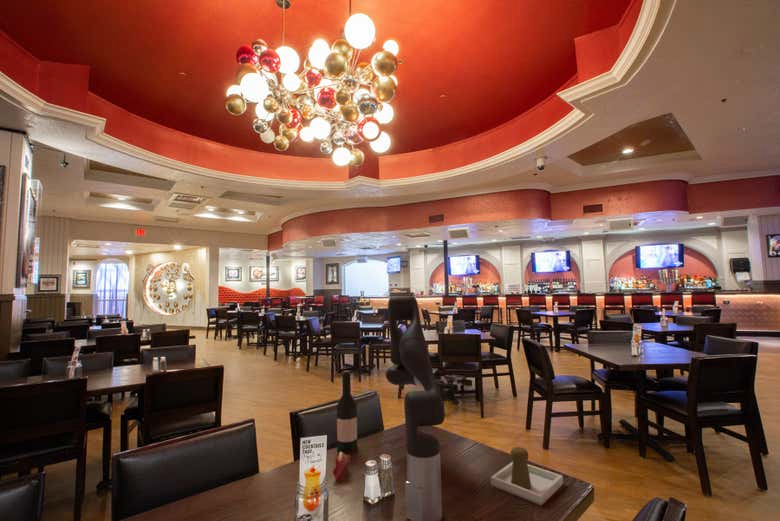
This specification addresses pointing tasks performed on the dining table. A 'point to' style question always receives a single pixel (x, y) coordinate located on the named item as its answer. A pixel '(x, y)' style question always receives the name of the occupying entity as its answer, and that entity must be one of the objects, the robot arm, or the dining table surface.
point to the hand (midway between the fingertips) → (464, 385)
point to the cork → (520, 468)
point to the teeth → (341, 466)
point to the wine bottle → (346, 418)
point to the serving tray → (540, 479)
